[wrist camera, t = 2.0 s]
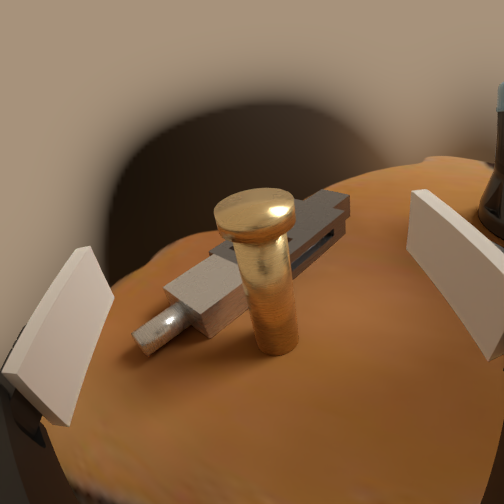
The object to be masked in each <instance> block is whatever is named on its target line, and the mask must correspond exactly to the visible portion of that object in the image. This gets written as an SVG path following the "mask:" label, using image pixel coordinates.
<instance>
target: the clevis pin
mask: <svg viewBox="0 0 504 504" xmlns="http://www.w3.org/2000/svg"><path fill="white" fill-rule="evenodd" d="M214 215H215V219H216V223H217V227H218V231H219V234H220V236H221V237H222V238H224V239H225V240H228V241H230V242H233V246H234V250H235V254H236V259H237V263H238V267H239V271H240V275H241V280H242V284H243V288H244V292H245V296H246V300H247V305H248V309H249V313H250V317H251V321H252V325H253V329H254V333H255V337H256V341H257V345H258V347H259V349H260V350H261V351H262V352H263V353H265V354H268V355H272V356H279V355H284V354H286V353H289V352H290V351H292V350H293V349H294V348H295V347H296V345H297V344H298V341H299V335H298V326H297V316H296V307H295V298H294V289H293V280H292V272H291V264H290V255H289V247H288V240H287V232H288V231H289V230H290V229H291V228H292V227H293V226H294V225H295V222H296V214H295V205H294V198H293V196H292V195H291V194H290V193H289V192H287V191H285V190H281V189H276V188H258V189H252V190H246V191H242V192H239V193H236V194H234V195H231V196H229V197H227V198H225V199H223V200H222V201H221V202H219V203H218V204H217V205H216V207H215V209H214Z"/></svg>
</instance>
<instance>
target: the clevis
mask: <svg viewBox="0 0 504 504" xmlns="http://www.w3.org/2000/svg"><path fill="white" fill-rule="evenodd" d="M294 205H295V214H296V222H295V225H294V226H293V227H292V228H291V229H290V230H289V231H288V232H287V240H288V247H289V255H290V264H291V272H292V280H293V279H294V278H296V277H297V276H298V275H299V274H300V273H301V272H302V271H304V270H305V269H306V268H307V267H308V266H309V265H310V264H312V263H313V262H314V261H315V260H316V259H317V258H318V257H320V256H321V255H322V254H323V253H324V252H325V251H326V250H327V249H329V248H330V247H331V246H332V245H333V244H334V243H335V242H336V241H337V240H339V239H340V238H341V237H342V236H343V235H344V234H345V220H346V219H347V218H348V217H349V216H350V195H347V194H342V193H338V192H333V191H328V190H323V189H322V190H320V191H318V192H317V193H315V194H314V195H312V196H311V197H309V198H308V199H306V200H305V201H301V200H296V199H294ZM209 255H210V257H208V258H207V259H205V260H204V261H202V262H200V263H199V264H197V265H196V266H194V267H193V268H191V269H190V270H188V271H187V272H185V273H184V274H182V275H181V276H179V277H178V278H176V279H175V280H173V281H172V282H170V283H168V284H167V285H165V286H164V287H163V289H164V292H165V294H166V296H167V299H168V301H169V303H170V307H168V308H167V309H165V310H164V311H163V312H161V313H160V314H158V315H157V316H155V317H154V318H153V319H151V320H150V321H148V322H147V323H145V324H144V325H142V326H141V327H140V328H138V329H137V330H135V331H134V332H132V333H131V335H132V337H133V339H134V340H135V342H136V343H137V345H138V346H139V347H140V349H141V350H142V351H143V352H144V354H145V355H146V356H149V355H150V354H152V353H153V352H155V351H156V350H157V349H159V348H160V347H161V346H163V345H164V344H165V343H167V342H168V341H170V340H171V339H172V338H174V337H175V336H176V335H178V334H179V333H180V332H182V331H183V330H184V329H186V328H187V327H189V326H190V325H192V326H193V327H195V328H196V329H197V330H199V331H200V332H201V333H203V334H204V335H205V336H207V337H208V338H209V339H211V338H212V337H213V336H214V335H216V334H217V333H218V332H219V331H221V330H222V329H223V328H224V327H226V326H227V325H228V324H229V323H231V322H232V321H233V320H234V319H236V318H237V317H238V316H239V315H241V314H242V313H243V312H244V311H246V310H247V309H248V305H247V300H246V296H245V292H244V288H243V284H242V280H241V275H240V271H239V267H238V263H237V259H236V254H235V250H234V246H233V242H230V241H228V240H226V241H224V242H223V243H221V244H220V245H218V246H217V247H215V248H213V249H212V250H210V251H209Z"/></svg>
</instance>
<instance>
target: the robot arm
mask: <svg viewBox="0 0 504 504" xmlns="http://www.w3.org/2000/svg"><path fill="white" fill-rule="evenodd" d="M496 111H497V112H498V122H497V123H498V124H497V141H496V154H495V165H494V171H493V174H492V176H491V178H490V180H489V183H488V185H487V187H486V189H485V191H484V193H483V195H482V197H481V200H480V205H479V211H478V215H479V218H480V220H481V222H482V223H483V224H484V226H485V227H486V228H488V229H489V230H490V231H491V232H493V233H494V234H495V235H497V236H499V237H500V238H502V239H504V82H502V83H501V84H500V85H499V87H498V104H497V108H496ZM406 249H407V251H408V252H409V253H410V254H411V255H412V257H413V258H414V259H415V260H416V262H417V263H418V264H419V265H420V267H421V268H422V269H423V270H424V272H425V273H426V274H427V275H428V277H429V278H430V279H431V281H432V282H433V283H434V284H435V286H436V287H437V288H438V290H439V291H440V292H441V294H442V295H443V296H444V298H445V299H446V300H447V302H448V303H449V305H450V306H451V307H452V309H453V310H454V312H455V313H456V314H457V316H458V317H459V319H460V320H461V321H462V323H463V324H464V326H465V327H466V329H467V330H468V332H469V333H470V335H471V336H472V338H473V339H474V341H475V342H476V344H477V345H478V347H479V348H480V350H481V352H482V353H483V355H484V356H485V358H486V359H487V361H488V362H489V361H491V360H493V359H495V358H497V357H499V356H501V355H503V354H504V248H503V247H501V246H499V245H498V244H496V243H494V242H492V241H490V240H489V239H487V238H486V237H485V236H484V235H483V234H482V233H481V232H480V231H478V230H477V229H476V228H475V227H474V226H473V225H471V224H470V223H469V222H468V221H467V220H465V219H464V218H463V217H462V216H460V215H459V214H458V213H457V212H456V211H454V210H453V209H452V208H451V207H449V206H448V205H447V204H445V203H444V202H443V201H442V200H440V199H439V198H438V197H436V196H435V195H434V194H432V193H431V192H430V191H428V190H427V189H423V190H414V191H411V203H410V217H409V228H408V238H407V247H406ZM113 300H114V296H113V294H112V292H111V290H110V287H109V286H108V283H107V281H106V279H105V277H104V275H103V273H102V271H101V269H100V266H99V264H98V262H97V260H96V258H95V255H94V253H93V251H92V248H91V246H87V247H82V248H78V249H75V251H74V252H73V254H72V255H71V256H70V258H69V259H68V261H67V262H66V264H65V265H64V266H63V268H62V269H61V271H60V272H59V274H58V275H57V277H56V278H55V280H54V281H53V283H52V284H51V286H50V287H49V289H48V291H47V292H46V294H45V295H44V297H43V299H42V300H41V302H40V303H39V305H38V306H37V308H36V310H35V311H34V313H33V315H32V316H31V318H30V320H29V321H28V323H27V324H26V325H25V326H24V327H23V329H22V330H21V332H20V334H19V336H18V337H17V340H16V341H15V343H14V345H13V349H11V350H10V352H9V354H8V356H7V358H6V360H5V362H4V364H3V366H2V368H1V370H0V504H79V502H78V501H77V499H76V497H75V495H74V493H73V491H72V489H71V487H70V485H69V483H68V481H67V479H66V477H65V474H64V472H63V470H62V468H61V466H60V463H59V461H58V459H57V456H56V454H55V451H54V449H53V446H52V444H51V441H50V439H49V436H48V433H47V431H46V428H45V427H44V425H43V424H42V423H41V422H40V420H41V417H42V415H43V416H44V417H45V418H46V419H47V420H48V421H49V422H50V423H51V424H53V425H59V426H66V427H69V426H70V423H71V419H72V416H73V412H74V409H75V406H76V402H77V399H78V396H79V393H80V390H81V386H82V383H83V380H84V377H85V374H86V371H87V369H88V366H89V363H90V360H91V357H92V354H93V352H94V349H95V346H96V343H97V341H98V338H99V335H100V333H101V330H102V328H103V325H104V322H105V320H106V317H107V315H108V312H109V310H110V308H111V305H112V303H113ZM503 371H504V369H503ZM481 504H504V422H503V427H502V432H501V436H500V441H499V445H498V449H497V453H496V457H495V461H494V464H493V468H492V471H491V474H490V478H489V481H488V484H487V487H486V490H485V493H484V496H483V498H482V501H481Z"/></svg>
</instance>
